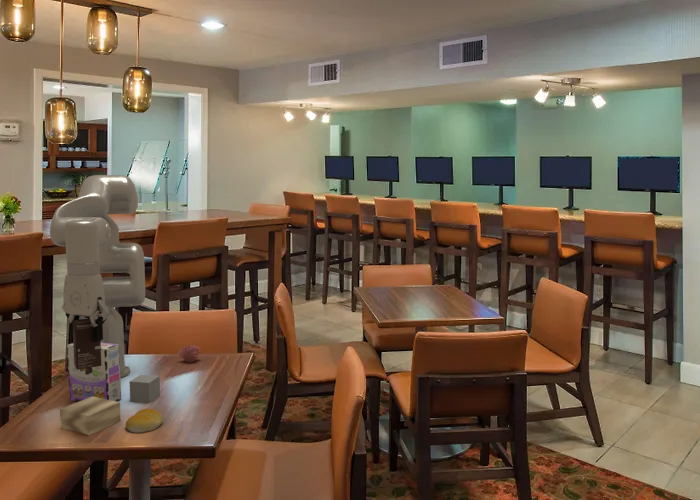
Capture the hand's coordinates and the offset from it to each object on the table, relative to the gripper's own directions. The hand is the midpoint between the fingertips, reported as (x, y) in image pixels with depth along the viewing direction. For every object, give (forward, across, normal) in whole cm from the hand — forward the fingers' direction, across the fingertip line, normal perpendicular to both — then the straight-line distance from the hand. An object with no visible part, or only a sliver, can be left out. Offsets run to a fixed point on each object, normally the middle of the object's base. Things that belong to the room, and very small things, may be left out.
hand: (87, 338), depth 153 cm
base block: (+23, 0, 0) cm, 23 cm away
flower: (+23, -13, +53) cm, 59 cm away
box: (+7, 0, 0) cm, 7 cm away
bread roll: (+23, +13, +5) cm, 27 cm away
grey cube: (+23, -1, +20) cm, 30 cm away
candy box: (+23, -13, +13) cm, 29 cm away
